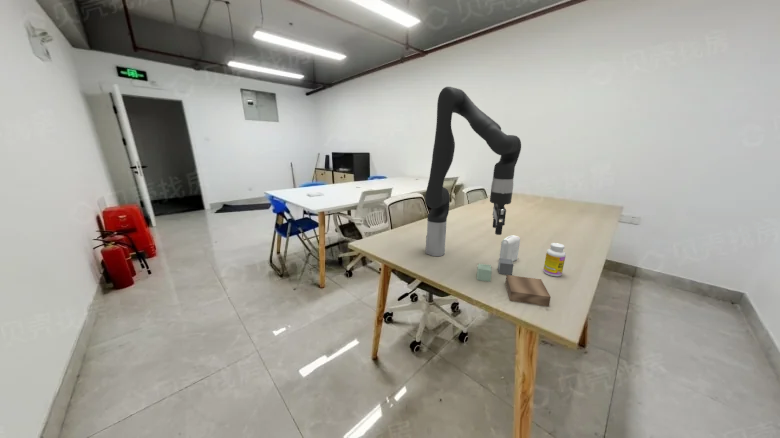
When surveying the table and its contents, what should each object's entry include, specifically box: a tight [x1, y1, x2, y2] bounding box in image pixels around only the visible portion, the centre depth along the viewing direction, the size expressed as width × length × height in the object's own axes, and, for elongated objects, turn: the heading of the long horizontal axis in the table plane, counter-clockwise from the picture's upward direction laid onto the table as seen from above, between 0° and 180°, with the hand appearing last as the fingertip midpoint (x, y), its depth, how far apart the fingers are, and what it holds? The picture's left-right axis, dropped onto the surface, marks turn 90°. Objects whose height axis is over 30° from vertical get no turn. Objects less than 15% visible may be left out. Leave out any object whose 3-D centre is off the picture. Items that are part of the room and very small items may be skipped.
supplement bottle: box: [542, 242, 567, 277], centre depth 103 cm, size 7×7×13 cm
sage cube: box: [476, 263, 493, 282], centre depth 101 cm, size 5×5×5 cm
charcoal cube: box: [497, 257, 514, 276], centre depth 106 cm, size 5×5×5 cm
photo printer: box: [499, 234, 521, 263], centre depth 115 cm, size 10×4×12 cm, turn 123°
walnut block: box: [505, 274, 551, 307], centre depth 90 cm, size 12×12×4 cm
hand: (496, 230), depth 99 cm, fingers open, 8 cm apart
